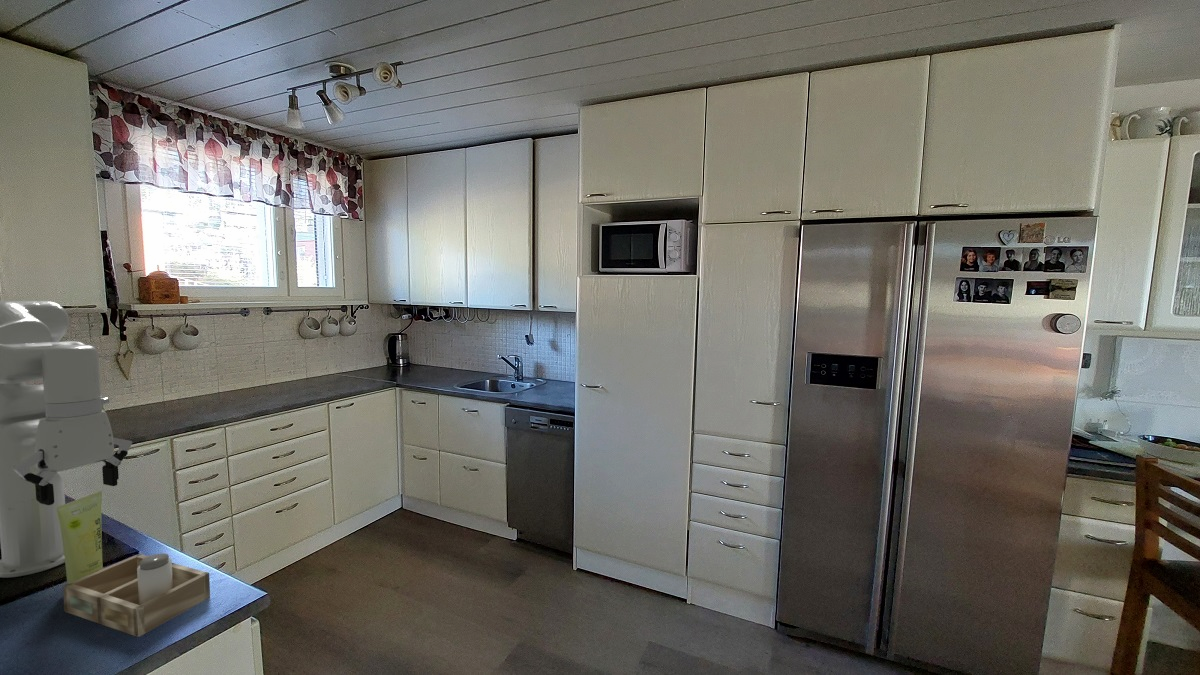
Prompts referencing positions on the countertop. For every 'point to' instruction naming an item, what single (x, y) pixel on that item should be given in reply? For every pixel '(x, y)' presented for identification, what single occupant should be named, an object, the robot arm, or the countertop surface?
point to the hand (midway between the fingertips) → (80, 493)
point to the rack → (133, 597)
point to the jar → (154, 577)
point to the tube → (81, 536)
